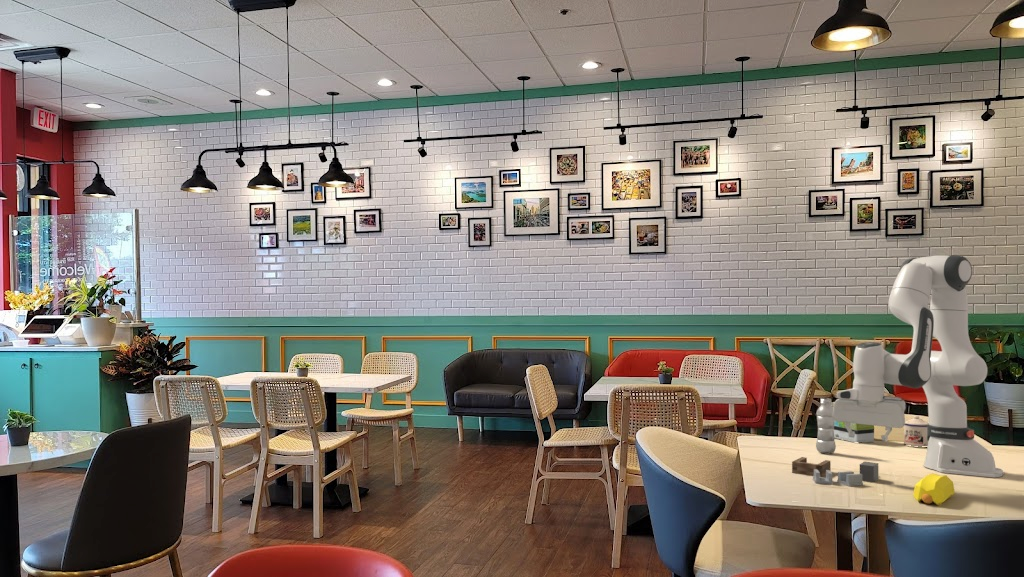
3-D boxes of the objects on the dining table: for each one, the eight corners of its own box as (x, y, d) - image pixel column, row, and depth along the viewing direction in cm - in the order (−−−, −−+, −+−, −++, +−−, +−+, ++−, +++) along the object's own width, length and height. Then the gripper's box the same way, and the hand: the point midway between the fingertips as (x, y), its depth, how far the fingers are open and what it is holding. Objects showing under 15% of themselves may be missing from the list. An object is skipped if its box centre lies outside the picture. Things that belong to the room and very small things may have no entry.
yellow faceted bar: (957, 496, 207) (927, 492, 212) (957, 473, 207) (927, 469, 212) (942, 509, 194) (910, 503, 199) (941, 483, 194) (910, 478, 199)
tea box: (827, 437, 304) (827, 401, 304) (844, 436, 308) (844, 400, 308) (857, 443, 290) (856, 406, 290) (875, 442, 294) (875, 405, 294)
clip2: (830, 480, 224) (830, 470, 225) (833, 484, 220) (833, 473, 220) (812, 479, 226) (812, 469, 226) (815, 483, 221) (815, 472, 221)
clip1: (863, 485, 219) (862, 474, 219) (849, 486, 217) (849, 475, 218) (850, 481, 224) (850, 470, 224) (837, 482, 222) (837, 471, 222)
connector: (881, 477, 231) (881, 461, 231) (873, 482, 223) (873, 466, 223) (867, 475, 233) (867, 459, 233) (859, 480, 225) (859, 464, 225)
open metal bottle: (818, 450, 273) (818, 397, 274) (837, 453, 269) (837, 398, 270) (814, 453, 268) (813, 398, 269) (833, 455, 264) (833, 400, 265)
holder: (830, 471, 237) (830, 460, 237) (821, 476, 230) (821, 465, 230) (802, 467, 243) (802, 457, 243) (792, 472, 235) (792, 461, 235)
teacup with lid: (899, 445, 286) (899, 415, 286) (908, 443, 292) (907, 413, 293) (933, 450, 277) (933, 419, 278) (941, 447, 284) (941, 417, 284)
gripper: (907, 397, 223) (907, 442, 222) (837, 391, 236) (836, 434, 235) (903, 398, 218) (902, 445, 218) (831, 392, 231) (830, 436, 230)
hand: (867, 439), depth 227 cm, fingers open, 8 cm apart
